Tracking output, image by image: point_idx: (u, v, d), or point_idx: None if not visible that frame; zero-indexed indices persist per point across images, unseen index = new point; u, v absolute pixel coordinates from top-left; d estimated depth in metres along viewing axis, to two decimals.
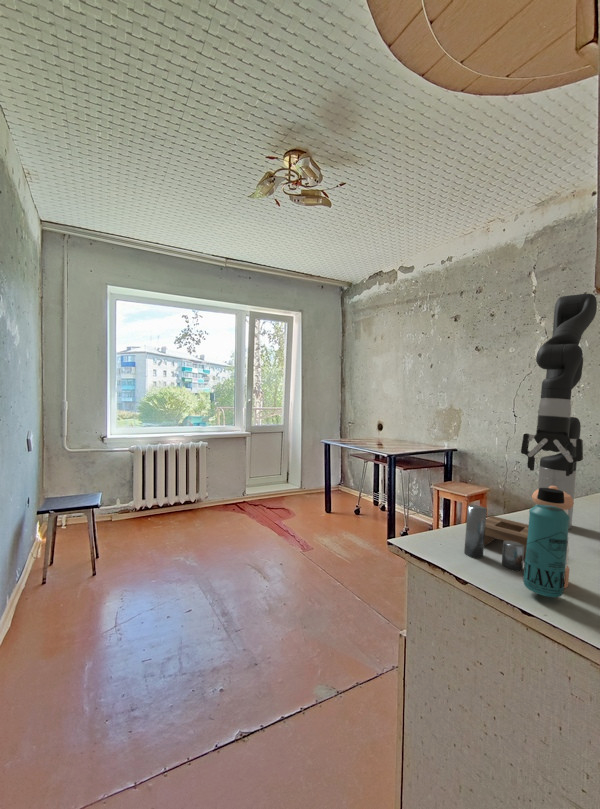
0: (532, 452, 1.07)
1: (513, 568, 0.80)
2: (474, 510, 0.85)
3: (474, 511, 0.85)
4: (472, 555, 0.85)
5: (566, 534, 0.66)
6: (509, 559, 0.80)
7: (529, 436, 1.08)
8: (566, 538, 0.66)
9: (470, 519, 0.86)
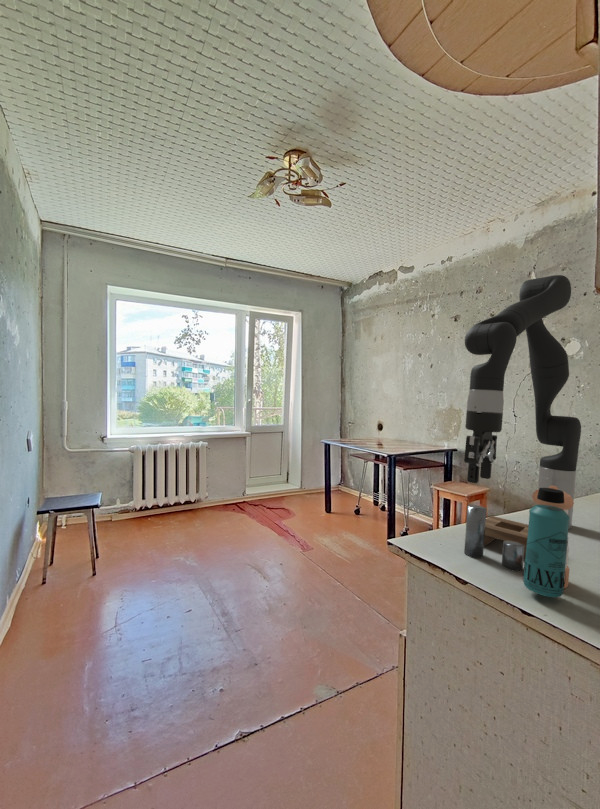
0: (480, 460, 0.83)
1: (513, 568, 0.80)
2: (474, 510, 0.85)
3: (474, 511, 0.85)
4: (472, 555, 0.85)
5: (566, 534, 0.66)
6: (509, 559, 0.80)
7: None
8: (566, 538, 0.66)
9: (470, 519, 0.86)
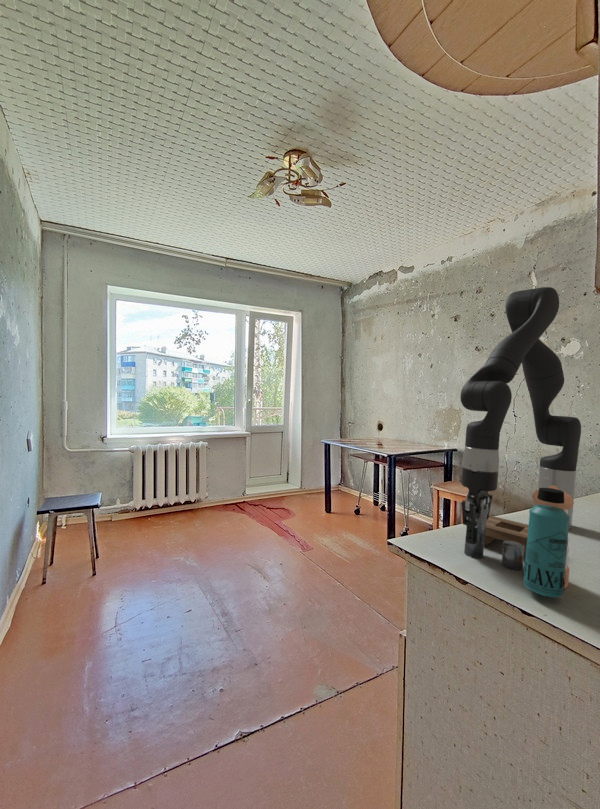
0: (478, 522, 0.84)
1: (513, 568, 0.80)
2: None
3: None
4: (472, 555, 0.85)
5: (566, 534, 0.66)
6: (509, 559, 0.80)
7: None
8: (566, 538, 0.66)
9: None
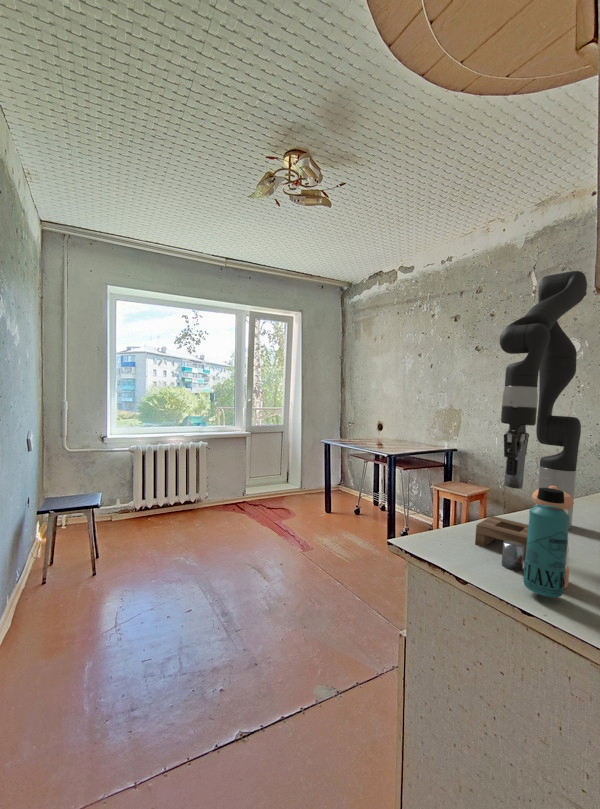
0: (518, 454, 0.91)
1: (513, 568, 0.80)
2: None
3: None
4: (512, 486, 0.92)
5: (566, 534, 0.66)
6: (509, 559, 0.80)
7: None
8: (566, 538, 0.66)
9: (511, 452, 0.92)
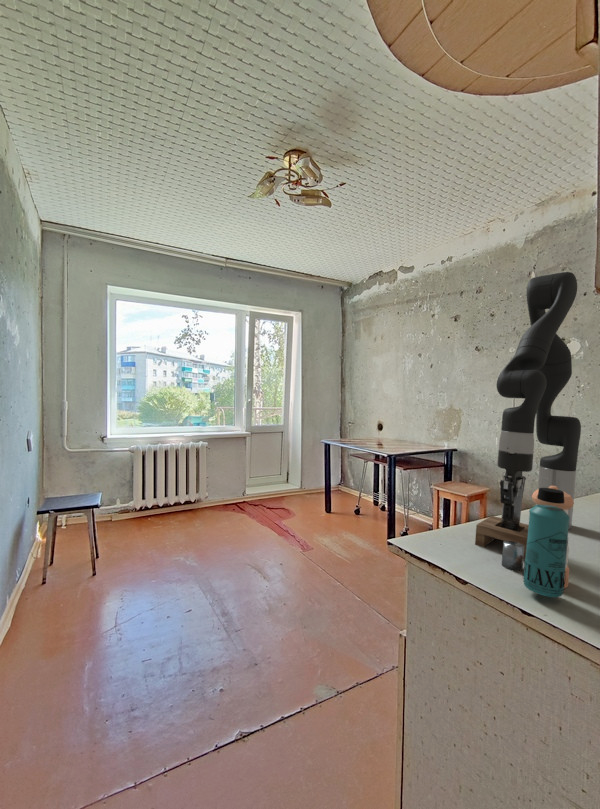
0: (514, 500, 0.91)
1: (513, 568, 0.80)
2: None
3: None
4: None
5: (566, 534, 0.66)
6: (509, 559, 0.80)
7: None
8: (566, 538, 0.66)
9: (508, 498, 0.92)
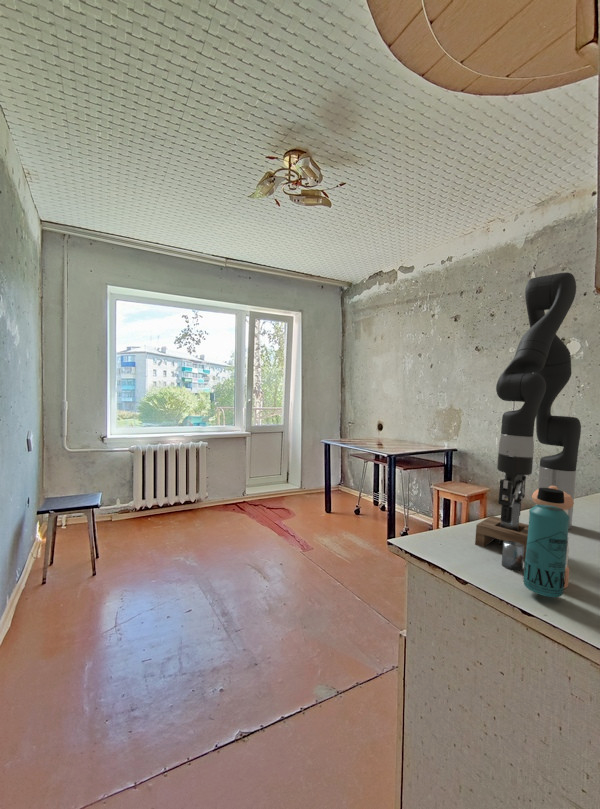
0: (513, 502, 0.90)
1: (513, 568, 0.80)
2: None
3: None
4: None
5: (566, 534, 0.66)
6: (509, 559, 0.80)
7: None
8: (566, 538, 0.66)
9: None
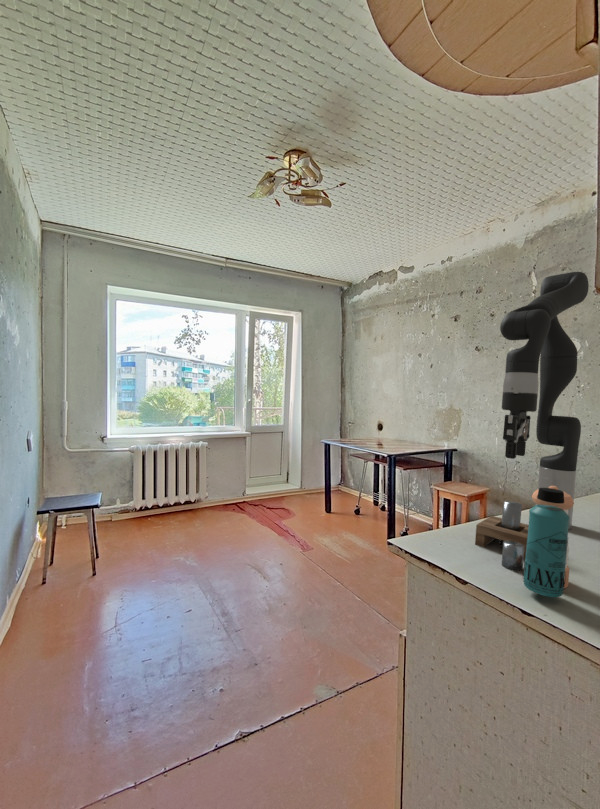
0: (517, 437, 0.89)
1: (513, 568, 0.80)
2: (510, 505, 0.92)
3: (511, 506, 0.92)
4: None
5: (566, 534, 0.66)
6: (509, 559, 0.80)
7: None
8: (566, 538, 0.66)
9: (507, 513, 0.92)
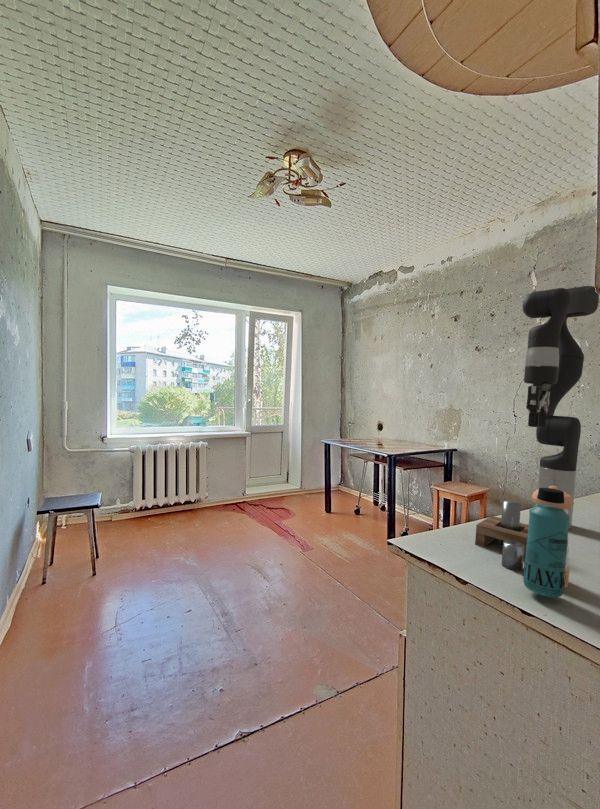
0: (540, 407, 0.96)
1: (513, 568, 0.80)
2: (510, 504, 0.92)
3: (510, 505, 0.92)
4: None
5: (566, 534, 0.66)
6: (509, 559, 0.80)
7: None
8: (566, 538, 0.66)
9: (506, 513, 0.93)
